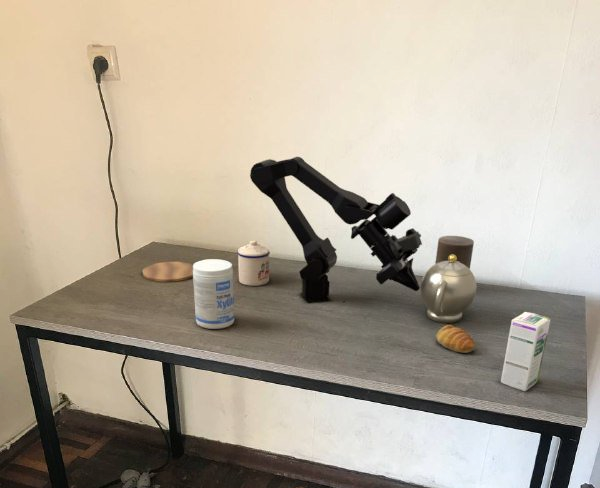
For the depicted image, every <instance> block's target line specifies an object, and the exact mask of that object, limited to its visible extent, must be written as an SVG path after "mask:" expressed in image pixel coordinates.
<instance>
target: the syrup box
mask: <svg viewBox="0 0 600 488" xmlns="http://www.w3.org/2000/svg"><path fill="white" fill-rule="evenodd" d="M550 325H551V318H549V317H547V316H545V315H542V314H538V313H534V312H529V311H524V312H523V313H521V314H520V315H517V316H516V317H514V318H512V319H511V323H510V328H509V333H508V339H507V344H506V350H505V355H504V361H503V366H502V373H501V377H500V383H501V384H503V385H504V386H505V385H506V386H508V387H511V388H513V389H517V390H519V391H523V392H527V391H528V390H529V389H531V388H532V387H533V386H535V384H537V383H538V381H539V376H540V372H541V368H542V363H543V358H544V354H545V349H546V345H547V339H548V334H549V330H550Z"/></svg>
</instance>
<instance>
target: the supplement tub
mask: <svg viewBox="0 0 600 488" xmlns="http://www.w3.org/2000/svg"><path fill="white" fill-rule="evenodd" d="M192 265H193V277H192V280H193V299H194V313H195V323H196V324H197V325H198V326H199V327H201V328H204V329H209V330H219V329H220V330H221V329H226V328H229V327H230V326H231V325H233V324H234V322H235V289H234V287H235V285H234V269H233V264H232V262H230V261H228V260H224V259H217V258H215V259H214V258H211V259H210V258H209V259H203V260H199V261H197V262H194V263H193V264H192Z"/></svg>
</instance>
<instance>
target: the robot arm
mask: <svg viewBox="0 0 600 488" xmlns="http://www.w3.org/2000/svg"><path fill="white" fill-rule="evenodd" d="M291 176H292V177H293V178H295V179H296V180H297V181H299V182H300V183H301V184H303V185H304V186H305V187H306V188H307V189H309V190H311V191H312V192H313V193H315V194H316V195H318V196H319V197H320V198H322V199H323V200H324V201H325V202H327V203H328V204H329V205H330V206H331V208H332V210H333V211H334V213H335V214H336V215H337V216H338V217H339V218H340V219H341V221H343V223H345V224H347V225H353V226H352V227H350V229H351V233H350V239H351V240H354V239H355V238H356V237H357V236H360V237H361V239H362V240H363V242H364V243H365V244H366V245H367V247H368V248H369V249H370V251H371V252H370V255H371V256H372V257H376V258H377V259H378V261H380V263H381V266H380V268H381V269H380V270H378V272H376V275H375V279H376V282H378V283H379V285H380V286H381V285H383V284H384V283H386V282H387V281H388V280H389V281H393V282H395V283H397V284H400V285H402V286H404V287H406V288H408V289H410V290H412V291H414V292H418V291H419V290H420V287H421V286H420V284H419V282H418V280H417V278H416V275H415V272H414V271H413V262H414V257H411V256H412V255H414V254H416V253H417V252H418V249H419V248H420V246H422V245H423V242H422V239H421V237H422V234H421V233H420V232H419V231H416V230H415V229H414V228H409V229H407V230H406V231H405V235H402V237H399V238H398V237H397V236H396V235H394V234H392V235H390V233H389V232H388V231H387V230H388V229H389V230H392V231H393V230H394V229H396V228H397V227H398V226H399V225H400V224H401V223H402V222H404V221H405V220H406V219H408V218H409V217H410V216H411V214H412V212H411V209H410V207H409V205H408V204H407V202H406V201H405V200H403V199H402V198H400V197H399V196H397V195H396V194H395V193H394V192H392V193H390V194H389V195H388V196H387V197H386V198H385V199H384V200H383V202H381V203H380V204H379V203H373V202H370V201H368V200H367V199H366V198H365V197H363V196H361V195H359V194H357V193H355V192H353V191H350V190H348V189H347V190H346V189H344V188H342V187H340V186H339V185H338V184H336V183H334V182H333V181H332V180H331V179H329V178H328V177H327V176H325V175H323V174H322V173H321V172H320V171H319V170H317V169H315V167H313V166H311V164H309V163H307V162H306V161H305V160H304V159H303V158H302V157H300V156H294V157H292V158H288V159H283V160H278V161H276V160H275V159H272V158H269V159H265V160H262V161H259V162H257V163H255V164H253V166H252V167H251V169H250V174H249V177H250V180H251V182H252V183H253V184H254V186H255V187H256V188H257V189H258V190H259V191H260V192H261V193H262V194H264V195H265V196H267V198H269V199H271V200H272V202H273V204H274V206H275V207H276V209H277V210H278V211H279V213H280V215H281V216H282V218H283V220H285V222H286V224H287V225H288V226H289V228H290V229H291V232H292V233H293V234H294V236H295V237H296V239H297V240H298V242H299V243H300V246H301V247H302V251H303V252H302V253H303V258H304V260H305V262H306V265H305V266H304V267H303V268H302V269H300V270H299V272H298V273H299V276H300V280H302V281H301V292H299V296H301V298H302V299H303V300H304V301H305V302H306V303H316V302H326V301H330V297H329V296H330V284H331V283H330V282H331V281H329V276H328V275H327V274H328V273H329V272H330V270H331V269H332V268H334V266H335V265H336V264H337V262H338V261H337V260H338V255H337V252H336V251H337V248H335V247H334V246H333V244H332V242H331V240H330V239H329V237H326V238H324V239H323V238H321V237H320V236H318V234H317V233H316V231H315V230H314V228H313V227H312V225H311V224H310V222H309V221H308V219H307V217H306V216H305V214H304V213H303V211H302V210H301V208H300V206H299V205H298V204H297V202H296V200H295V199H294V197H293V196H292V194H291V193H290V191H289V190H288V188H287V182H286V177H291ZM372 216H375V217H373V218H372V219H371V220H369V219H370V218H371V217H372ZM361 221H362V222H361ZM359 222H361V223H360V224H359V225H356V224H358V223H359ZM410 257H411V258H410ZM409 258H410V259H409Z"/></svg>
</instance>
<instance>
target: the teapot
mask: <svg viewBox="0 0 600 488" xmlns="http://www.w3.org/2000/svg"><path fill="white" fill-rule="evenodd" d="M456 260H457V257H456V256H455V255H454V254H452V255H450V256H449V257H448V261H442V262H439V263H437V264H433V265H432V266H431V267H429V269H428V270H427V271H426V272H425V274H424V275H423V277H422V278H421V282H420V286H419V287H420V289H419V290H420V297H421V299H422V302H423V303H424V305H425V306H426V308H427V311H426V314H427V317H428V318H429V319H431V320H432V321H434V322H437V323H442V324H452V323H457V322H459V321H461V320H462V318H463V313H464V312H465V311H466V310H467V309H468V308H469V307H470V306H471V304H472V303H473V302H474V299H475V297H476V293H477V281H476V280H477V279H476V278H475V275H474V273H473V271H472V270H471V268H470V269H469V268H468V267H467V266H465V265H464V264H462V263H460V262H458V261H456Z"/></svg>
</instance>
